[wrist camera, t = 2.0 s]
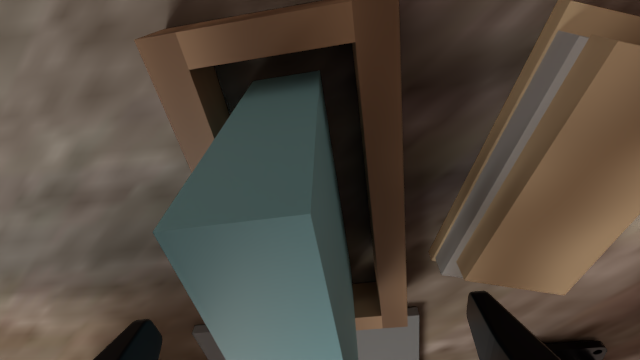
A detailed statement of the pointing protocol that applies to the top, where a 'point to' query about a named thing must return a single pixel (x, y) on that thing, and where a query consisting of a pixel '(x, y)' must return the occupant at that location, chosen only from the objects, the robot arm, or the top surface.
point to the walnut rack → (373, 100)
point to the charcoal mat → (373, 345)
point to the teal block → (267, 230)
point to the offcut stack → (554, 160)
